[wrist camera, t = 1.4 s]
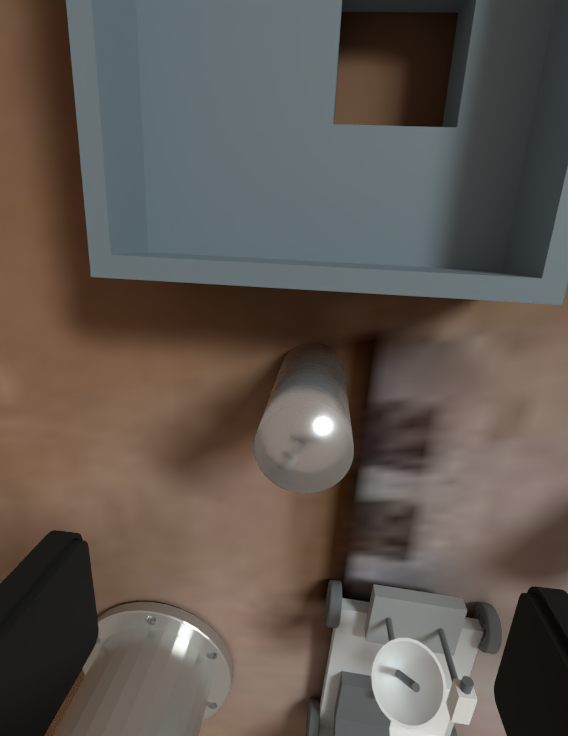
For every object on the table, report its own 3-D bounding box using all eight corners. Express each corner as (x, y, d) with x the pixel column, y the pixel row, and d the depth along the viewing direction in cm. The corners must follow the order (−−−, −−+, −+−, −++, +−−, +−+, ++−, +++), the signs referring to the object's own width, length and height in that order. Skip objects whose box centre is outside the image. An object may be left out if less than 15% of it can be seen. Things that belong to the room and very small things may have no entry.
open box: (495, 286, 24) (562, 304, 17) (153, 267, 25) (90, 276, 19) (590, -194, 18) (749, -457, 11) (133, -178, 19) (29, -400, 13)
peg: (341, 405, 27) (348, 497, 17) (279, 400, 27) (252, 488, 17) (347, 344, 25) (358, 408, 16) (281, 340, 26) (255, 399, 16)
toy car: (338, 676, 21) (579, 717, 20) (334, 540, 30) (498, 565, 29) (299, 883, 26) (487, 921, 25) (306, 713, 36) (444, 738, 35)
